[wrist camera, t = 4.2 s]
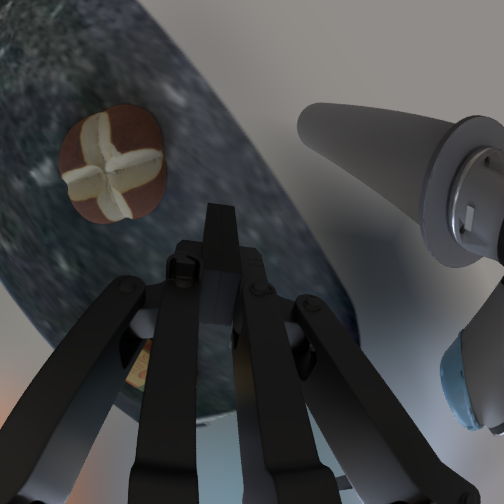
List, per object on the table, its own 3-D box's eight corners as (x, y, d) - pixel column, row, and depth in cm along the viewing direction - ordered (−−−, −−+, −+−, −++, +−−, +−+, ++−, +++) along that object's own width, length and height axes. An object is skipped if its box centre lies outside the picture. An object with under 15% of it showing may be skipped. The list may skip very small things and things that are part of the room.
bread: (165, 99, 23) (155, 97, 18) (172, 210, 28) (166, 231, 24) (63, 118, 21) (38, 122, 17) (78, 219, 27) (59, 240, 22)
